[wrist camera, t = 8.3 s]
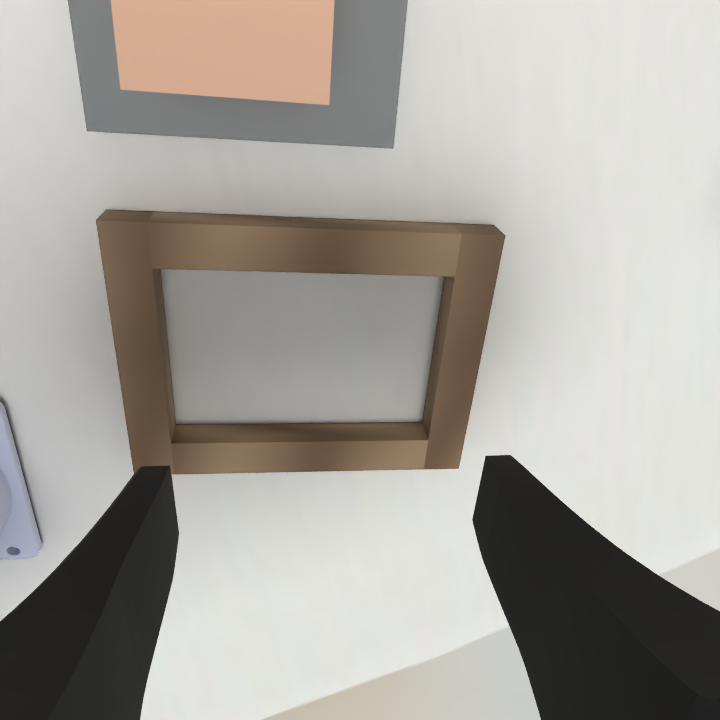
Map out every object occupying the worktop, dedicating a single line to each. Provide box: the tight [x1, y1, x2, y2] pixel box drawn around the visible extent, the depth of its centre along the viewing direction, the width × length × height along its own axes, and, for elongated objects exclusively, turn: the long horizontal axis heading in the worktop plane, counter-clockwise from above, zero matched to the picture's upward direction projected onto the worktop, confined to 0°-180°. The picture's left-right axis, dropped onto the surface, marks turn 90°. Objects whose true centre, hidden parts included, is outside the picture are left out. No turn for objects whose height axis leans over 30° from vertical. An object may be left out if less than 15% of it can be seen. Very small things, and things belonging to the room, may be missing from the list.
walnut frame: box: [96, 210, 505, 474], centre depth 22 cm, size 13×10×1 cm
